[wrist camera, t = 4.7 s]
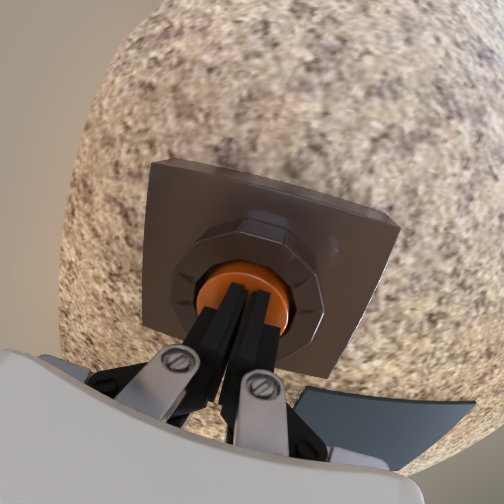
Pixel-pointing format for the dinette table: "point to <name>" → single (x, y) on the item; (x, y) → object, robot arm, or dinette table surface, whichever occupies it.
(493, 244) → the dinette table surface
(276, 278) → the button
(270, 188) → the button box
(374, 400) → the mat
